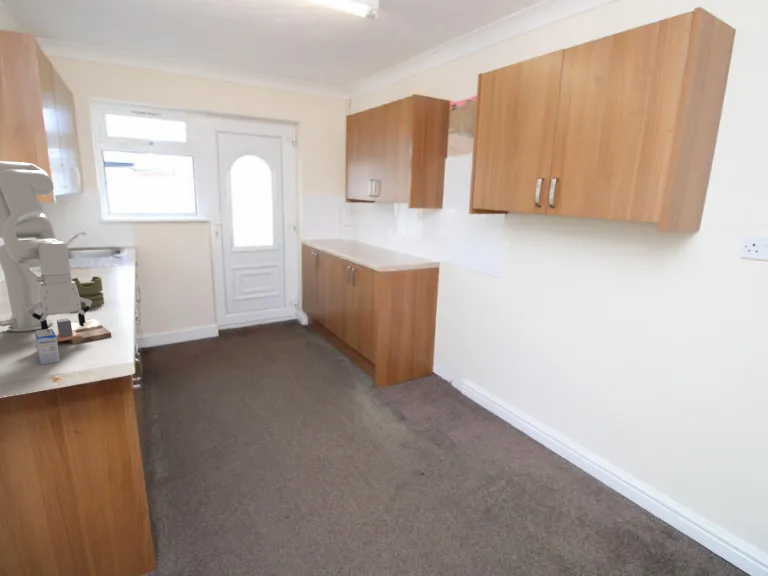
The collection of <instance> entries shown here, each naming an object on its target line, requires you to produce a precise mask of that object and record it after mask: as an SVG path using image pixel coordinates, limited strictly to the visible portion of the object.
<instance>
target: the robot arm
mask: <svg viewBox="0 0 768 576" xmlns="http://www.w3.org/2000/svg"><path fill="white" fill-rule="evenodd" d="M53 191H54V181H53V180H52V178H51V176H50V175H49V174H48V172H46V171H45V170H44V169H42V168H41V167H39V166H37V165H36V164H34V163H30V162H23V161H21V162H20V161H7V160H6V161H5V160H0V238H1V239H2V240H3V243H4V244H2V245H0V266H1V269H2V271H3V275H4V280H5V286H6V288H7V295H8V300H9V301H8V302H9V306H10V312H11V315H10V318H7V319H2V320H0V327H6V326H8V327H7V328H8V331H10V332H13V333H14V332H17V333H19V332H30V331H38V330H44V329H49V327H50V326H52V325H53V324H54V323H53V320H52V319H48V317H49V316H53V315H54V316H55V315H61V314H66V313H67V314H68V313H73V312H75V313H76V312H78V313H77V318H78V322H79V325H80V326H84V324H83V323H85V320H86V317H85V315H86V314H87V312H88V311H89V310H90V309H91V308H90V306H91V304H92V301H91V300H88V299H85V298H81V297H79V293H78V289H77V286H76V283H75V282H74V281H72V279H73V278H72V273H71V266H70V259H69V251H68V245H67V244H66V242H65V241H60V240H58V239H57V238H56V234H55V231H54V228H53V224H52V222H51V220H50V219H49V217H48V216H47V215H46V214H44V210H43V209H44V208H43V207H42V204H41V202H40V200H39V197H38V196H49V195H51V194H52V193H53ZM33 268H40V273H41V275H40V276H39V275H37V274H36V273H34V272H33V271H32V270H31V269H33ZM80 302H84V303H86V305H85V307H84V308H81V303H80Z"/></svg>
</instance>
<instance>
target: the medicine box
mask: <svg viewBox="0 0 768 576" xmlns="http://www.w3.org/2000/svg"><path fill="white" fill-rule="evenodd" d="M55 334H56V333H55V331H54V329H53V328H48V329H44V330H42V329H38V330H34V336H35V343H36V352H37V357H38V359H39V362H40V365H41V366H43V365H48V364H54V363H58V362H60V361H61V360H60V353H59V346H58V342H57V338H56V335H55Z"/></svg>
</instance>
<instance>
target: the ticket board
mask: <svg viewBox="0 0 768 576" xmlns="http://www.w3.org/2000/svg"><path fill="white" fill-rule="evenodd" d="M83 324H84V326H80V325H79V321H74V322H71V326H72V331H75V332H76V333H77V334H78V335H79V338H74V339H69V341H70V342H71V344H73V345H76V344H81V343H86V341H87V342H91V340H92V341H95V340H96V339H97V340H100V339H101V338H102V339H105V338H111V337H112V332H111V331H110V330H108V329H107V328H106V327H105V326H104V325H103V324H101V322H99V321H98V320H96V319H95V318H93V319H85V323H83Z"/></svg>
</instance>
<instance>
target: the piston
mask: <svg viewBox="0 0 768 576" xmlns="http://www.w3.org/2000/svg"><path fill="white" fill-rule="evenodd" d="M71 279H72V281H74V282H75V283H76V286H77V289H78V293H79V297H81V298H85V299H88V300H91V301H92V304H91V306H90V307H91V308H96V307H95V306H97V307H100V306H99V305H101V306H103V305H104V304H105V297H104V292H103V283H102V282H103V281H102V277H101V276H92V277H91V280H90V281H80V280H79V279H78V277H74V278H71ZM80 303H81V309H83V308H84V307H85V305H86V303H84V302H80ZM102 304H103V305H102Z"/></svg>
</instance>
